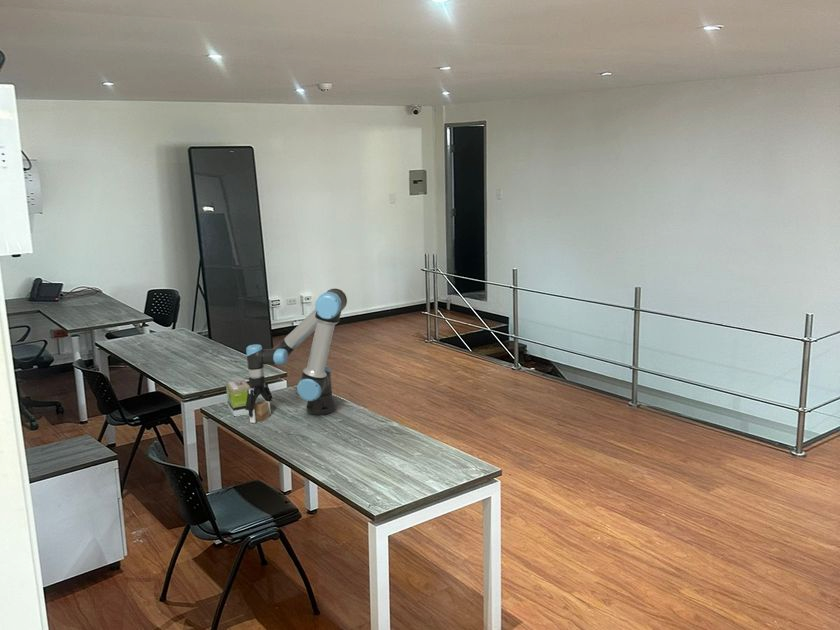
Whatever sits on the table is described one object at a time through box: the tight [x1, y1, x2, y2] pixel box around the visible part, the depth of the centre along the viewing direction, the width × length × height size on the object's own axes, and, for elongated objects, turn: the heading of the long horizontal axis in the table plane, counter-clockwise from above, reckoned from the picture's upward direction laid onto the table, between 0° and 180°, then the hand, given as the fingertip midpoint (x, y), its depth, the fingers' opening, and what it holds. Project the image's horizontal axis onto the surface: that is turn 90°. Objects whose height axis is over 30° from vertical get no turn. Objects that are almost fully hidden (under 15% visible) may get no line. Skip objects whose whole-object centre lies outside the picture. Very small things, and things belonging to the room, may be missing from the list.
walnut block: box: [253, 401, 270, 422], centre depth 373 cm, size 6×6×8 cm
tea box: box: [225, 379, 252, 417], centre depth 385 cm, size 15×10×15 cm
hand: (260, 418), depth 374 cm, fingers open, 12 cm apart
